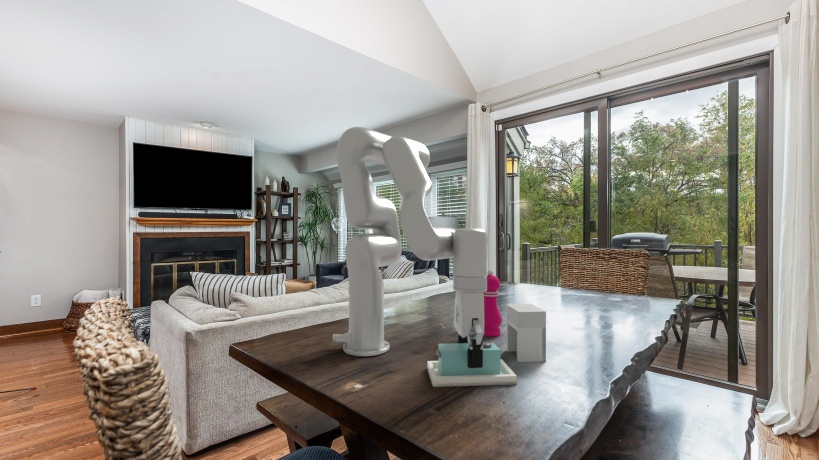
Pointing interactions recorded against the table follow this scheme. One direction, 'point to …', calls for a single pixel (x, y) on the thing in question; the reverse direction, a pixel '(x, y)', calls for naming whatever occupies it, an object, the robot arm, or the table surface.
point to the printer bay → (526, 332)
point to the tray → (471, 377)
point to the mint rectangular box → (455, 360)
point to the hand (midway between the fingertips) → (469, 359)
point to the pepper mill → (491, 307)
